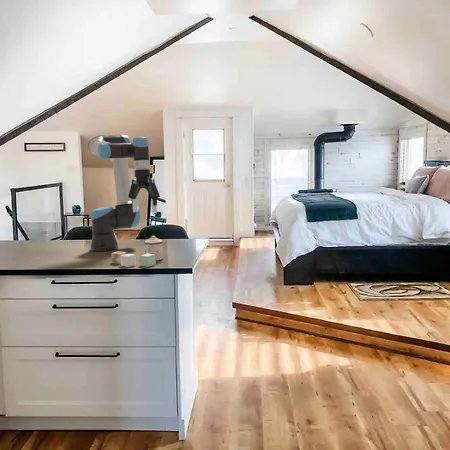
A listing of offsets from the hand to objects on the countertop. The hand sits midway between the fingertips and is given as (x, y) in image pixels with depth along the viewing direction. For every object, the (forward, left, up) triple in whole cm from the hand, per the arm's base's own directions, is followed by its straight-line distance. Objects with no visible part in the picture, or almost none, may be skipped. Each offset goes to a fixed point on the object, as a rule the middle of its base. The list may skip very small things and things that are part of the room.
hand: (144, 212), depth 255 cm
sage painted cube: (+12, -11, -24) cm, 28 cm away
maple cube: (-5, -14, -24) cm, 28 cm away
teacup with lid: (+5, -1, -24) cm, 24 cm away
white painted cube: (+4, -16, -24) cm, 29 cm away
